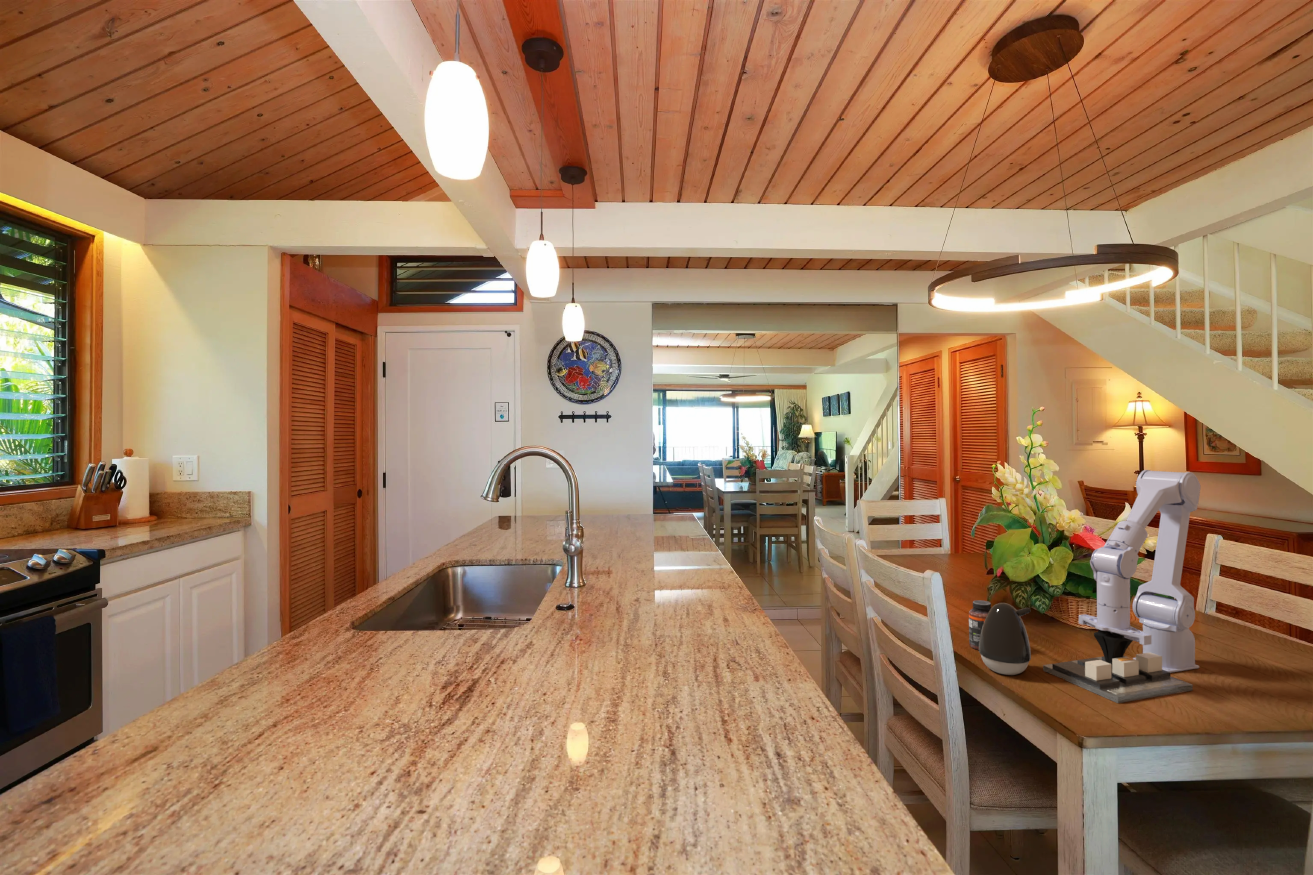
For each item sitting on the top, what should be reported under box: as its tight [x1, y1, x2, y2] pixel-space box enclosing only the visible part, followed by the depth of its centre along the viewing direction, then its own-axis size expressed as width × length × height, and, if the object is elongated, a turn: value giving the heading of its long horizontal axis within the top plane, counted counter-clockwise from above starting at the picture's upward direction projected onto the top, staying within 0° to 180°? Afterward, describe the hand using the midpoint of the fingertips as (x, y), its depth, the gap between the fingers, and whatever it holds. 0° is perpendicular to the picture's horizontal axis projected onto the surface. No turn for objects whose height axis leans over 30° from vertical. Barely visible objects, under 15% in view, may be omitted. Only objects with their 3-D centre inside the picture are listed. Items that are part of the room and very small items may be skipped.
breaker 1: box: [1085, 660, 1111, 681], centre depth 129 cm, size 4×2×3 cm, turn 105°
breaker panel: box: [1042, 655, 1194, 704], centre depth 132 cm, size 20×17×2 cm
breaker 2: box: [1135, 652, 1162, 673], centre depth 132 cm, size 4×2×3 cm, turn 105°
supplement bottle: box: [968, 599, 992, 651], centre depth 152 cm, size 6×6×11 cm
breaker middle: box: [1112, 656, 1139, 677], centre depth 130 cm, size 4×2×3 cm, turn 105°
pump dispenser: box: [978, 602, 1032, 676], centre depth 138 cm, size 10×10×15 cm
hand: (1113, 666), depth 133 cm, fingers closed
